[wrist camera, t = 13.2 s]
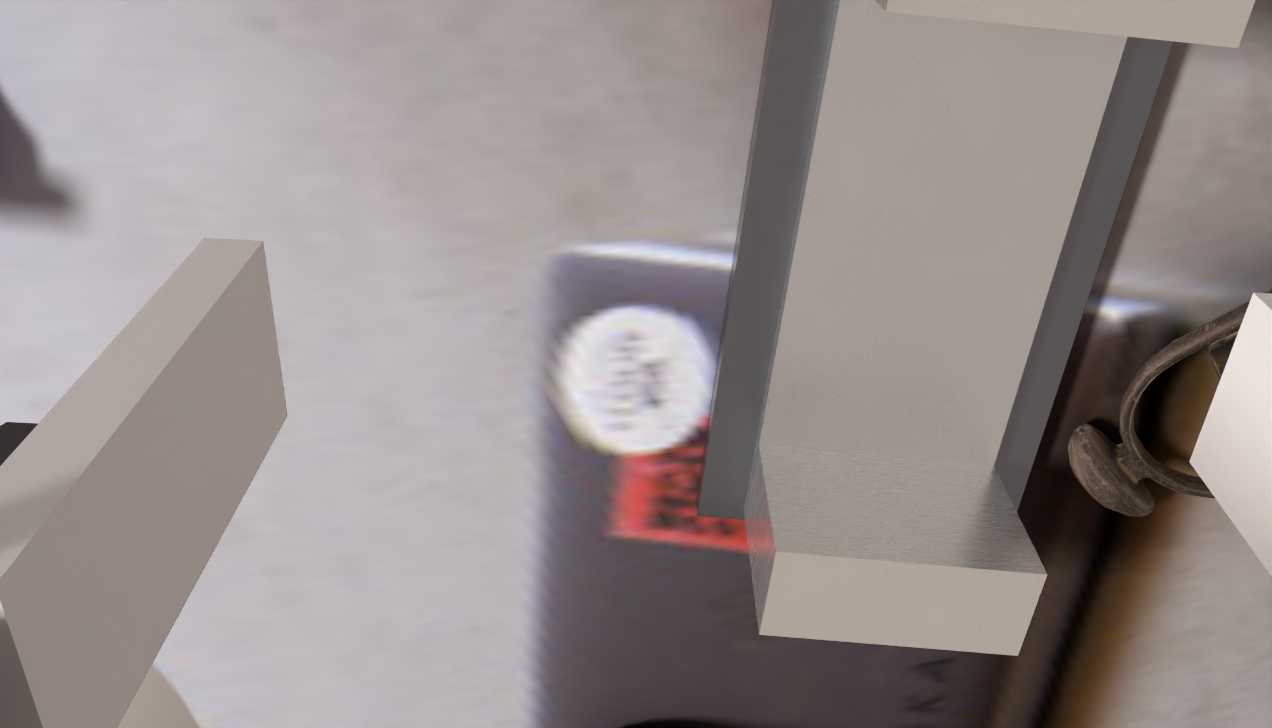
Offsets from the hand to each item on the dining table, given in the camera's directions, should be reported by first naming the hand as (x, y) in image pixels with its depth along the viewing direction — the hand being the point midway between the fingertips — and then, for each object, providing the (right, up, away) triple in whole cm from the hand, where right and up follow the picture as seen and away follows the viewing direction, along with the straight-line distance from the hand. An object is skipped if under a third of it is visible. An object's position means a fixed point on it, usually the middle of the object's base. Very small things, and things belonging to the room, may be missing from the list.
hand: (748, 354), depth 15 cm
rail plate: (+10, +5, +28) cm, 30 cm away
